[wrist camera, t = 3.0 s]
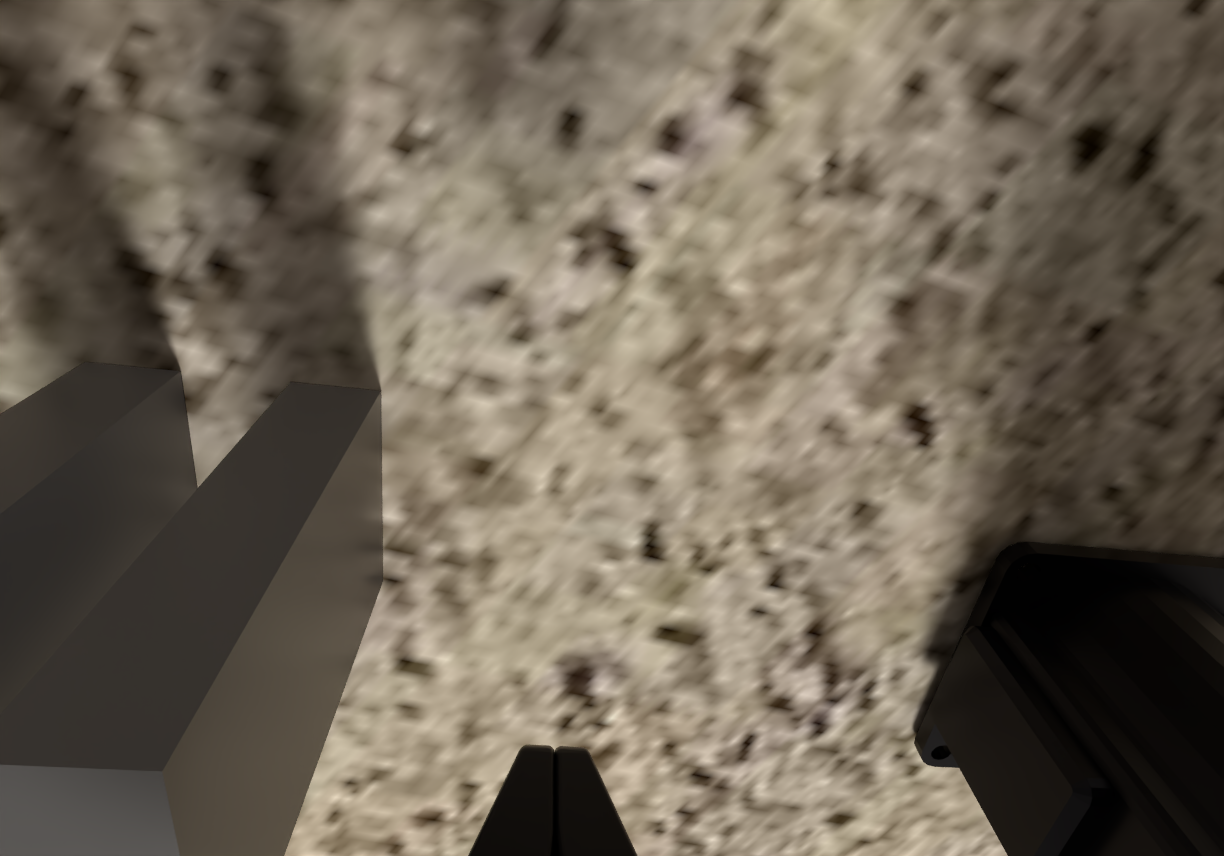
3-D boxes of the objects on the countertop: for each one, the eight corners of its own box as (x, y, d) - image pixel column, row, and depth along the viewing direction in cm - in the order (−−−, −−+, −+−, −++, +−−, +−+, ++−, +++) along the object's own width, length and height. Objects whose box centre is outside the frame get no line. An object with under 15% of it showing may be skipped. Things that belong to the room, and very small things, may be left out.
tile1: (381, 390, 13) (162, 771, 6) (383, 580, 15) (218, 1037, 8) (290, 382, 13) (-43, 763, 6) (304, 575, 15) (65, 1037, 8)
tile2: (180, 371, 13) (-301, 751, 6) (208, 568, 15) (-126, 1035, 8) (84, 361, 13) (-533, 742, 6) (125, 562, 15) (-294, 1036, 8)
